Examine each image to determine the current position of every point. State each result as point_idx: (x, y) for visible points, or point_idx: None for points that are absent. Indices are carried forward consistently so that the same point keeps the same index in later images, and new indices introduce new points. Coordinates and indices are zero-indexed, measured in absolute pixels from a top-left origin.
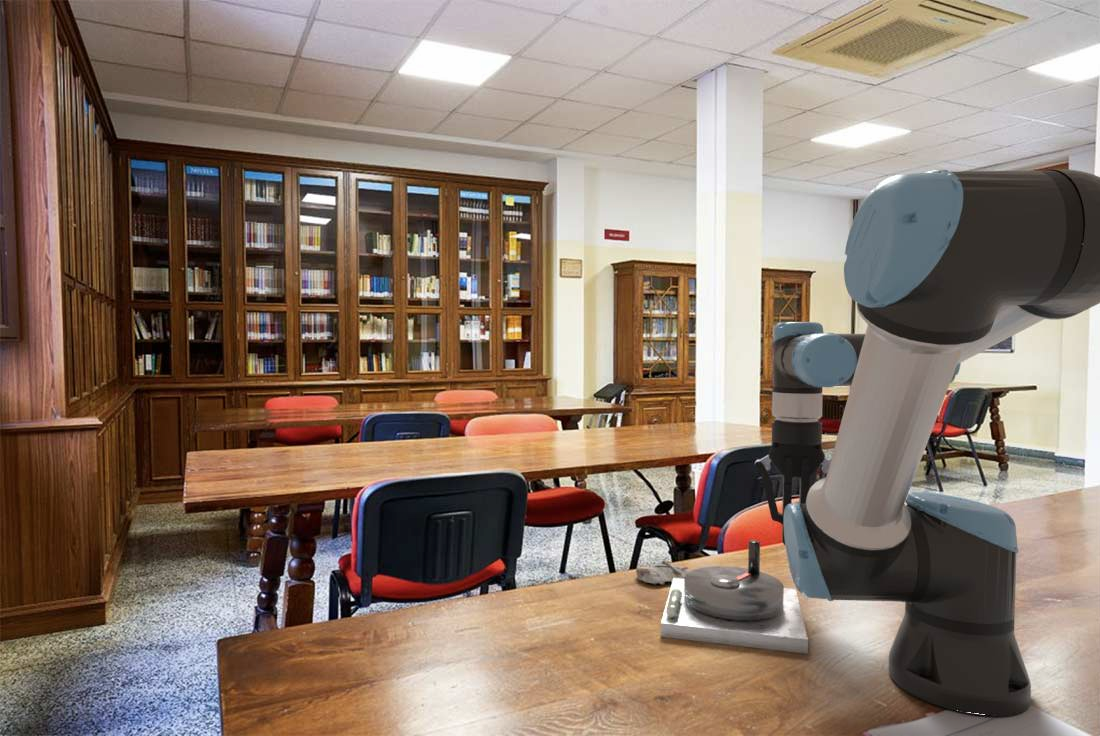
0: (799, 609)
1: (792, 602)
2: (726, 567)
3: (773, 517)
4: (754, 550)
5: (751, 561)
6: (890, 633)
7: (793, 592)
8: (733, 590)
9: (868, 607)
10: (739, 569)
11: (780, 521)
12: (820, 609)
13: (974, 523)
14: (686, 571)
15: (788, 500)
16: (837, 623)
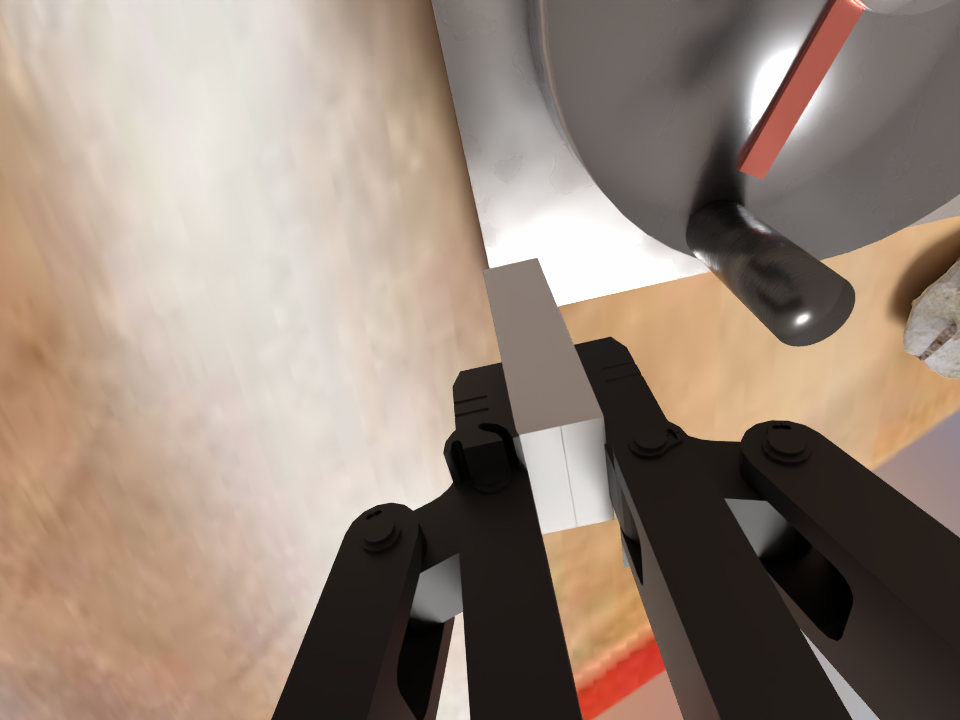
0: (450, 57)
1: (494, 144)
2: (856, 233)
3: (804, 442)
4: (788, 254)
5: (765, 225)
6: (70, 127)
7: None
8: None
9: (242, 360)
10: (789, 234)
11: (709, 449)
12: (393, 257)
13: None
14: (932, 325)
15: (748, 671)
16: (296, 131)
